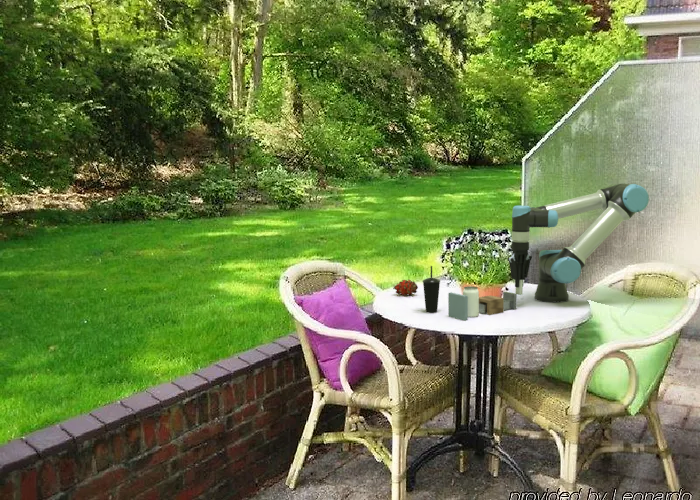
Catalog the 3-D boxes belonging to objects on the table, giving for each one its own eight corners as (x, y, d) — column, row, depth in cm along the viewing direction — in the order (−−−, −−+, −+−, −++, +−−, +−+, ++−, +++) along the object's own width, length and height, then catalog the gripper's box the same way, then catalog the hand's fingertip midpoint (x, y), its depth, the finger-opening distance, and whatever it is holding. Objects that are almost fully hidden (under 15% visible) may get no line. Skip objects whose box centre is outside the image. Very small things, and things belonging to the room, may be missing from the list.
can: (481, 315, 294) (481, 287, 292) (473, 318, 289) (473, 289, 287) (468, 313, 298) (468, 285, 297) (460, 316, 293) (460, 287, 292)
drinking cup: (422, 313, 299) (422, 267, 297) (422, 309, 307) (422, 264, 304) (440, 313, 298) (440, 267, 296) (440, 309, 306) (440, 264, 303)
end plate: (451, 315, 294) (451, 292, 293) (467, 320, 286) (467, 296, 285) (448, 316, 293) (448, 292, 292) (464, 320, 285) (464, 296, 284)
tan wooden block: (490, 309, 305) (490, 295, 304) (503, 312, 298) (503, 298, 298) (476, 311, 301) (476, 297, 300) (489, 315, 294) (489, 300, 293)
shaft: (505, 306, 309) (505, 291, 308) (516, 308, 304) (516, 293, 303) (476, 311, 299) (476, 296, 299) (486, 314, 294) (486, 299, 293)
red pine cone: (419, 299, 337) (395, 302, 339) (419, 286, 343) (395, 289, 346) (416, 287, 331) (391, 290, 334) (416, 274, 337) (391, 277, 340)
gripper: (524, 239, 312) (522, 291, 315) (503, 241, 305) (502, 294, 308) (537, 240, 306) (535, 294, 309) (516, 243, 299) (514, 297, 302)
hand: (518, 294), depth 308 cm, fingers closed
